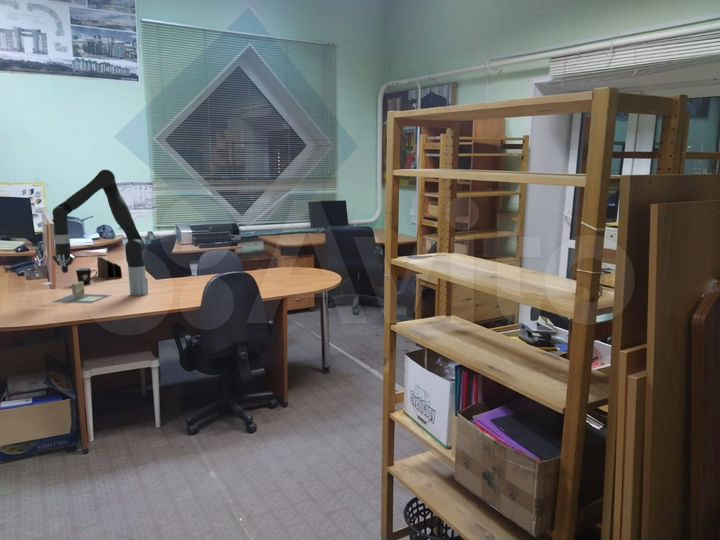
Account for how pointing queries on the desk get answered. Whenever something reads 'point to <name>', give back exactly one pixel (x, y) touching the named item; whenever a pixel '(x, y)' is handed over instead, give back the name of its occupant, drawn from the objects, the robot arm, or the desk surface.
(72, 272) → the desk surface
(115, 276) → the letter holder
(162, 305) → the desk surface
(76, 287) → the birch tile
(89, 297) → the rubber mat
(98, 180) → the robot arm
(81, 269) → the coffee mug
